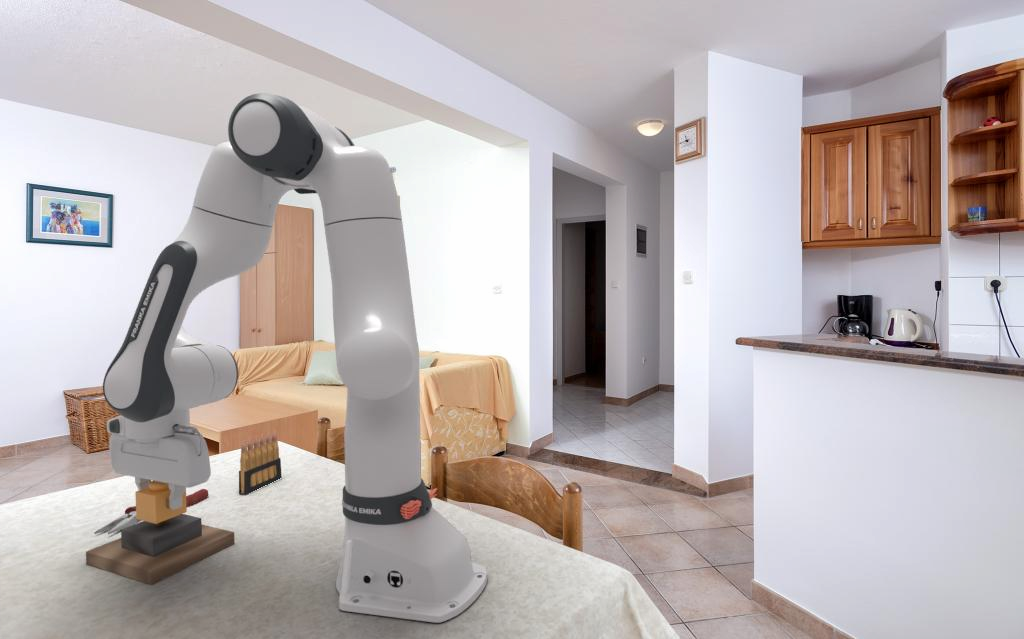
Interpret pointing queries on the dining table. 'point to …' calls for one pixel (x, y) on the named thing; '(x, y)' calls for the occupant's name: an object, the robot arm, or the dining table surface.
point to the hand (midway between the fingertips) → (161, 505)
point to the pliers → (131, 520)
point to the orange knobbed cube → (156, 503)
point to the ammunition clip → (259, 463)
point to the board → (159, 562)
